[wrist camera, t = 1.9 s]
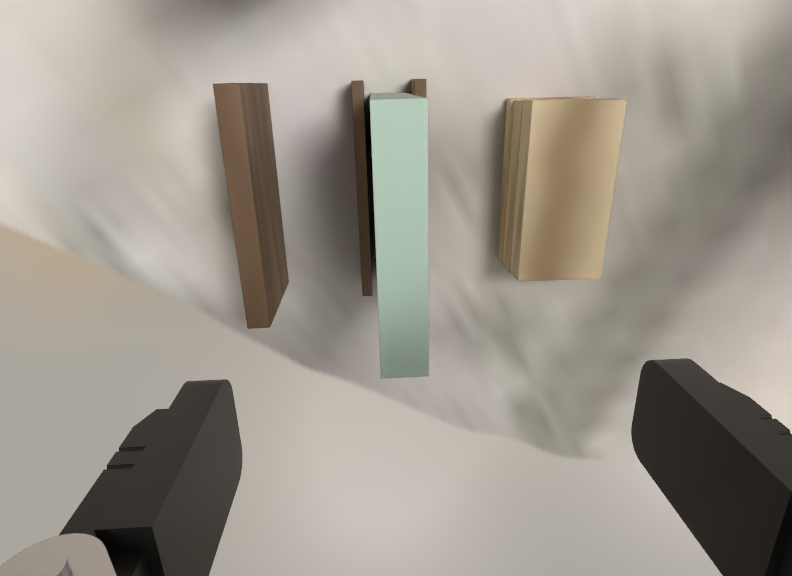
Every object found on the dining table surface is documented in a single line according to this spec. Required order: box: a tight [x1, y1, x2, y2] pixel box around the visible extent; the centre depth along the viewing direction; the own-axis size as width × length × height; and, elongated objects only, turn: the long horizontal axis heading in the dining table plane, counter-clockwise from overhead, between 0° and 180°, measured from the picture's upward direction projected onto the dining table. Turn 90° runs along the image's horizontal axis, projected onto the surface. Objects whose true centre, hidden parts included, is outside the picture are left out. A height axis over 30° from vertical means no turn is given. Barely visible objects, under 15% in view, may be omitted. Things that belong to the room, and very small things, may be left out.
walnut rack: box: [213, 79, 426, 329], centre depth 29 cm, size 10×12×7 cm
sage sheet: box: [370, 93, 429, 378], centre depth 26 cm, size 2×11×14 cm, turn 2°
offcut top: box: [510, 99, 627, 281], centre depth 30 cm, size 5×10×2 cm, turn 1°
